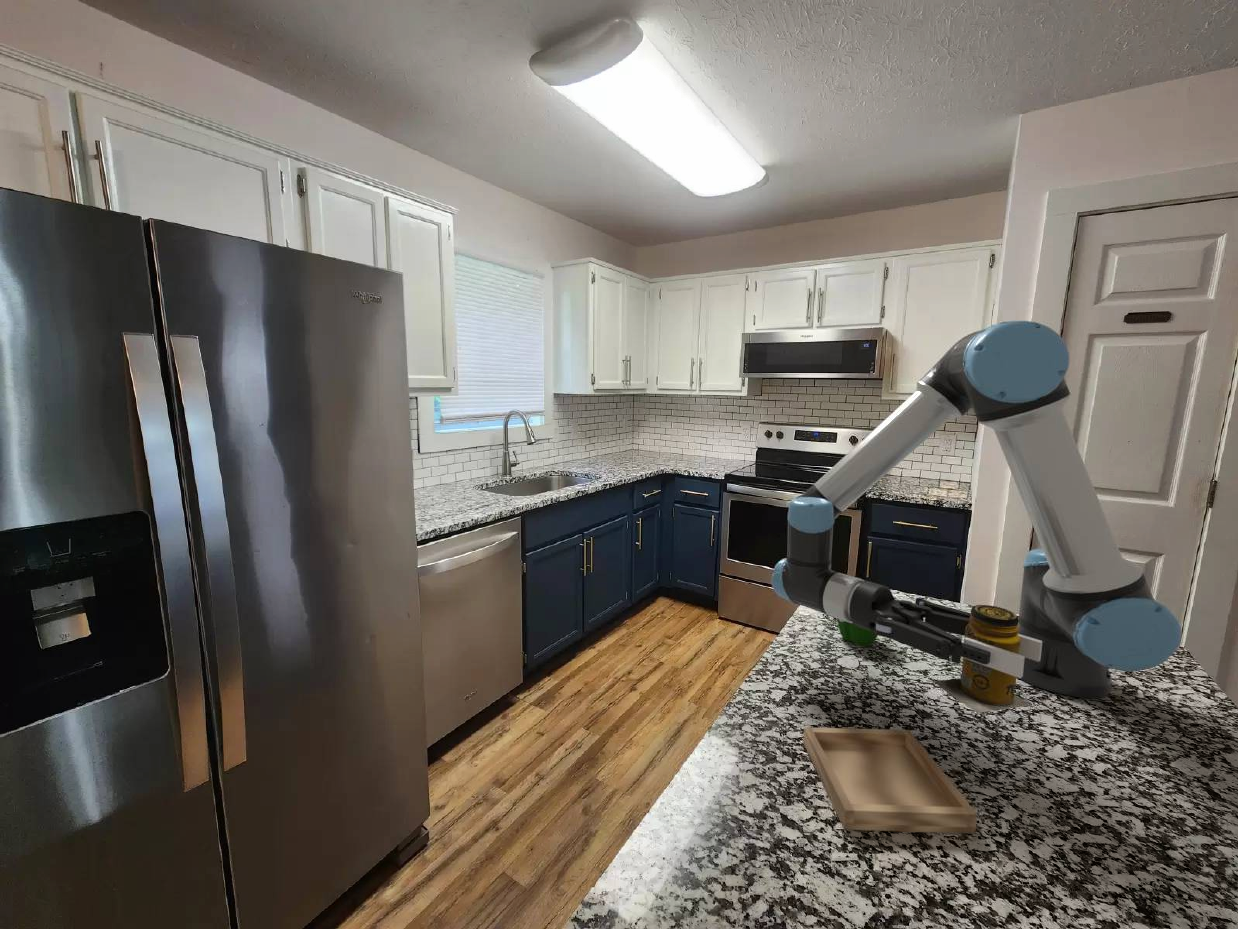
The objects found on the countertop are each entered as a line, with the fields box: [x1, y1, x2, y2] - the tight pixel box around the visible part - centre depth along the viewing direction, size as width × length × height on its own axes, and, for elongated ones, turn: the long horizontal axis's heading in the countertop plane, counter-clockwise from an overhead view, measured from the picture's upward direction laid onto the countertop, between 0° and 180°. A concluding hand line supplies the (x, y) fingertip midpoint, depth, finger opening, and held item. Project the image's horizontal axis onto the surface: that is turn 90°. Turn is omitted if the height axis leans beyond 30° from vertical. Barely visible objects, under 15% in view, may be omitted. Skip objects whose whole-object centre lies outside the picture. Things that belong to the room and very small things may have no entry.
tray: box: [802, 726, 978, 835], centre depth 67 cm, size 15×15×2 cm
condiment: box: [932, 604, 1032, 714], centre depth 70 cm, size 7×8×12 cm
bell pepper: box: [836, 618, 879, 647], centre depth 106 cm, size 8×8×10 cm
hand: (1031, 659), depth 66 cm, fingers closed on condiment, 6 cm apart
